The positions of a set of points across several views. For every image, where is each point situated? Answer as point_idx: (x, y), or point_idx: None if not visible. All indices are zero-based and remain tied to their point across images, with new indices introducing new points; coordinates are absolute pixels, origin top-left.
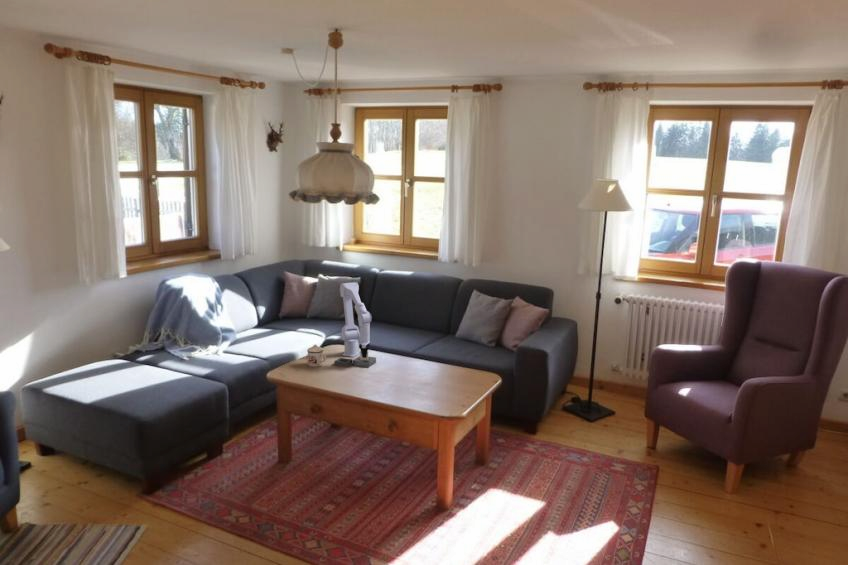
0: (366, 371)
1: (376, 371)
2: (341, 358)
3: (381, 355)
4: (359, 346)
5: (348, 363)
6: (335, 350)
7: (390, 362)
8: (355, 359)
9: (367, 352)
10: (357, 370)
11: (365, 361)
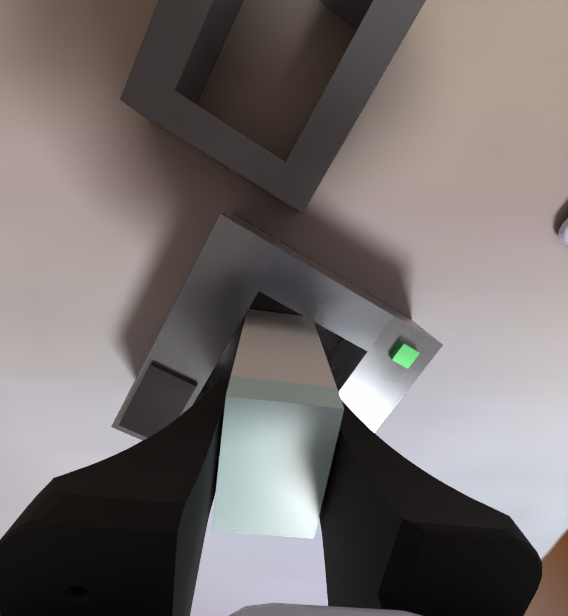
0: (3, 361)
1: (19, 454)
2: (384, 2)
3: (517, 516)
4: (26, 524)
5: (185, 140)
6: None
7: (294, 569)
8: (254, 258)
9: (214, 511)
10: (25, 262)
11: (138, 395)
